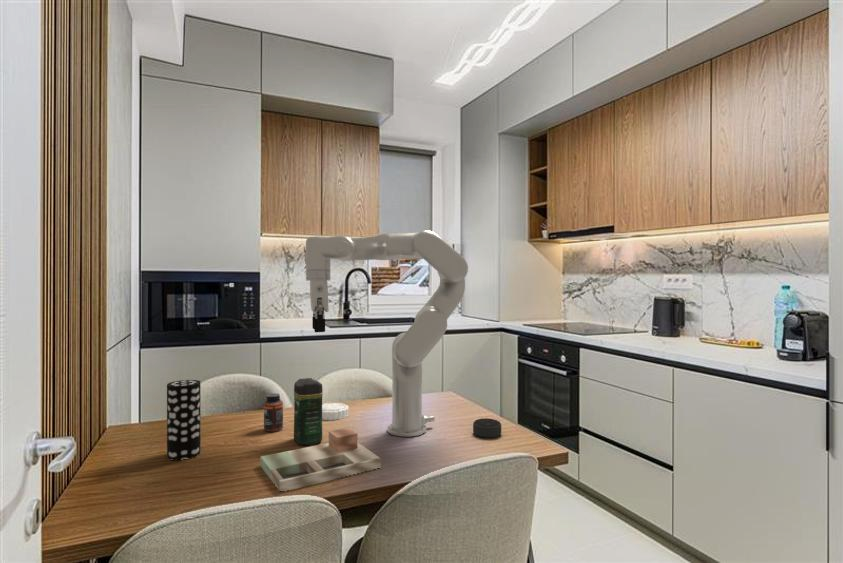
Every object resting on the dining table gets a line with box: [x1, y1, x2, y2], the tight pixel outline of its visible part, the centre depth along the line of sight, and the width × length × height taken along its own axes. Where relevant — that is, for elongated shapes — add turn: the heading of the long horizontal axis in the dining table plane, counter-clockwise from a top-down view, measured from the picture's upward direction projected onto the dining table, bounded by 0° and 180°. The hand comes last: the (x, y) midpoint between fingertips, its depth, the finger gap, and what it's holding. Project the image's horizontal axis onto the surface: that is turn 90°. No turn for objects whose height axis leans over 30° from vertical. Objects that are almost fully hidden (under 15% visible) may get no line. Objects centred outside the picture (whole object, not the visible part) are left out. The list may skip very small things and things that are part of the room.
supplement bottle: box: [263, 393, 284, 433], centre depth 153 cm, size 6×6×11 cm
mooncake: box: [322, 402, 350, 421], centre depth 169 cm, size 12×12×4 cm
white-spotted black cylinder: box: [166, 379, 202, 460], centre depth 131 cm, size 8×8×20 cm
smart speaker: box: [472, 417, 502, 439], centre depth 150 cm, size 9×9×4 cm
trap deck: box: [259, 442, 382, 492], centre depth 123 cm, size 26×18×2 cm
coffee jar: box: [293, 377, 324, 446], centre depth 143 cm, size 10×8×19 cm
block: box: [328, 427, 359, 452], centre depth 131 cm, size 6×6×4 cm
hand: (318, 330), depth 149 cm, fingers open, 9 cm apart
